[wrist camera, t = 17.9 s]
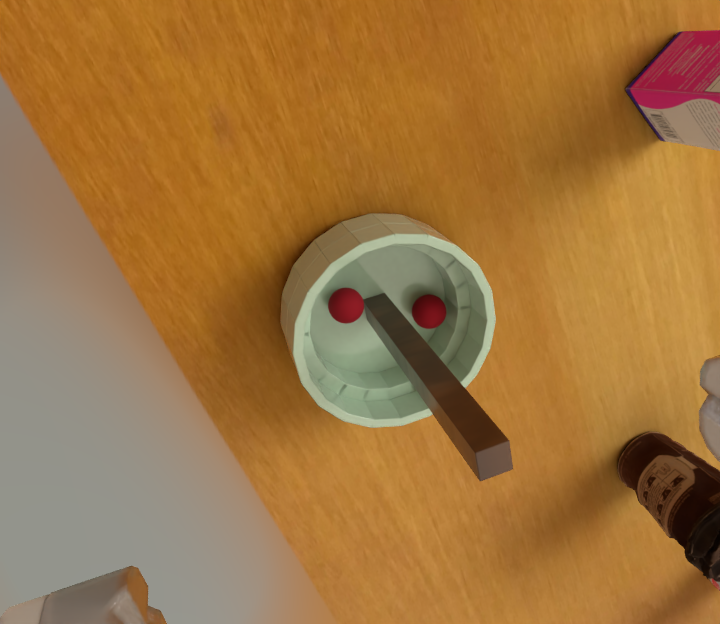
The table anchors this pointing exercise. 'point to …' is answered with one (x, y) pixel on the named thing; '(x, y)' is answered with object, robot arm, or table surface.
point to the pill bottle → (715, 584)
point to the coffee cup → (677, 495)
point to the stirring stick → (441, 391)
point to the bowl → (358, 339)
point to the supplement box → (683, 90)
